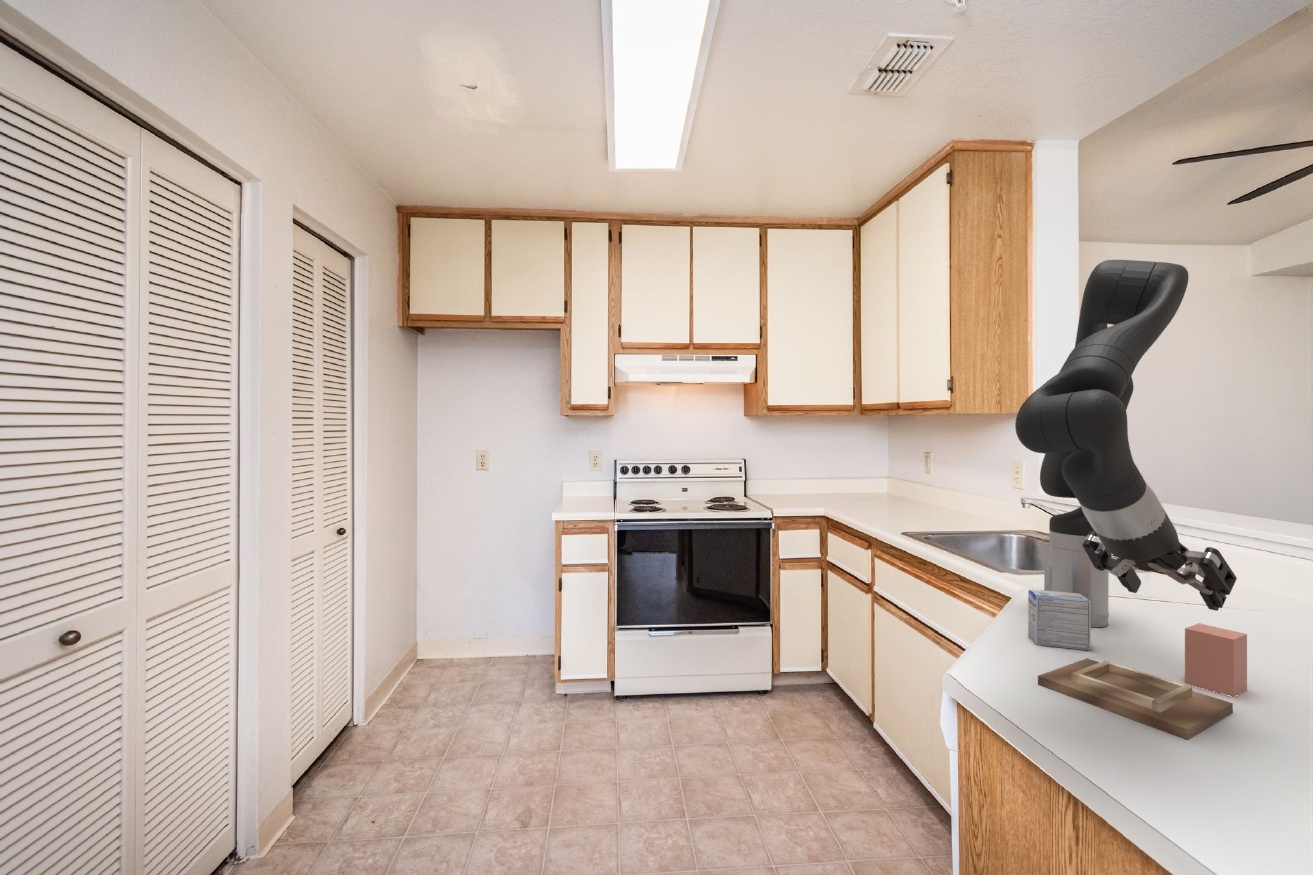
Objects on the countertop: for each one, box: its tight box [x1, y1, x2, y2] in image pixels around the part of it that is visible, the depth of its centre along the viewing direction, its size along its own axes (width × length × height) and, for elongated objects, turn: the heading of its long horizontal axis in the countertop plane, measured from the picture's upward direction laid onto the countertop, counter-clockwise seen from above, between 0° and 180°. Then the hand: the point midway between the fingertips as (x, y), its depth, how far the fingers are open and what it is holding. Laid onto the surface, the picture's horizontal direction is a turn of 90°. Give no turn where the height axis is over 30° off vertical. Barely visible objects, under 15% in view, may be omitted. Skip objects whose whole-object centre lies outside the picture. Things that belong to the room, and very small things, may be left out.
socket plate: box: [1037, 658, 1234, 741], centre depth 73 cm, size 16×14×2 cm
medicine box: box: [1027, 589, 1092, 651], centre depth 92 cm, size 8×4×9 cm, turn 71°
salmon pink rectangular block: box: [1184, 623, 1248, 698], centre depth 76 cm, size 5×5×8 cm
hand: (1173, 595), depth 72 cm, fingers open, 8 cm apart
